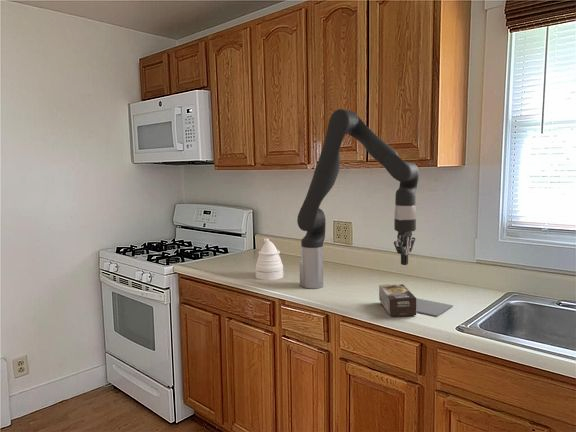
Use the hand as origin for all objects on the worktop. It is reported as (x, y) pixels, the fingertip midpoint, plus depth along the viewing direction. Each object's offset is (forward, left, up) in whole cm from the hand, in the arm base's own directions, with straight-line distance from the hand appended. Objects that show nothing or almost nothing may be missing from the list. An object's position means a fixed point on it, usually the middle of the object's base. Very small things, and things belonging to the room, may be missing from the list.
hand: (404, 264), depth 162 cm
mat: (+8, 0, -14) cm, 16 cm away
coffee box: (-4, -2, -10) cm, 12 cm away
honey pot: (-67, -1, -15) cm, 69 cm away
